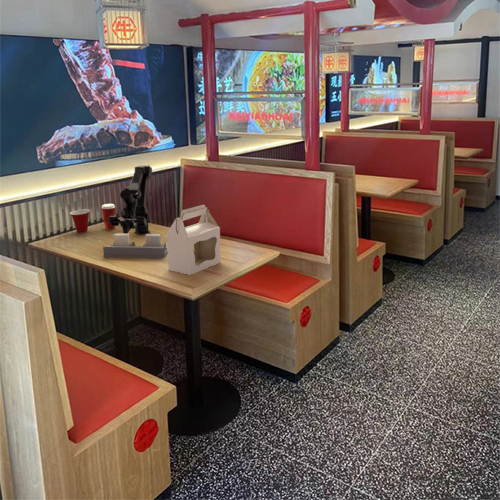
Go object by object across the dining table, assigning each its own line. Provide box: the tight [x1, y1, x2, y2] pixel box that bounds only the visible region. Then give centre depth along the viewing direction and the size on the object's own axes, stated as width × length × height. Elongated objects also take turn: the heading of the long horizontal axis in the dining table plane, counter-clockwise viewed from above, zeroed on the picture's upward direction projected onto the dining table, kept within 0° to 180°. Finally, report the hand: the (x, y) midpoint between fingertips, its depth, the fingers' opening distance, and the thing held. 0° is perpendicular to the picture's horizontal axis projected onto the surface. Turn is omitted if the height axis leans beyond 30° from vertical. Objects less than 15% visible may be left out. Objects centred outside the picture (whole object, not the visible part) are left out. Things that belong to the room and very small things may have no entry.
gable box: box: [166, 204, 222, 276], centre depth 249 cm, size 22×13×28 cm, turn 144°
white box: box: [144, 233, 162, 247], centre depth 272 cm, size 3×7×8 cm, turn 85°
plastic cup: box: [69, 209, 90, 234], centre depth 310 cm, size 11×11×12 cm
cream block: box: [113, 232, 131, 246], centre depth 274 cm, size 3×7×8 cm, turn 85°
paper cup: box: [101, 203, 116, 231], centre depth 315 cm, size 8×8×14 cm
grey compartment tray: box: [102, 241, 168, 259], centre depth 272 cm, size 13×30×5 cm, turn 85°
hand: (124, 235), depth 278 cm, fingers closed
